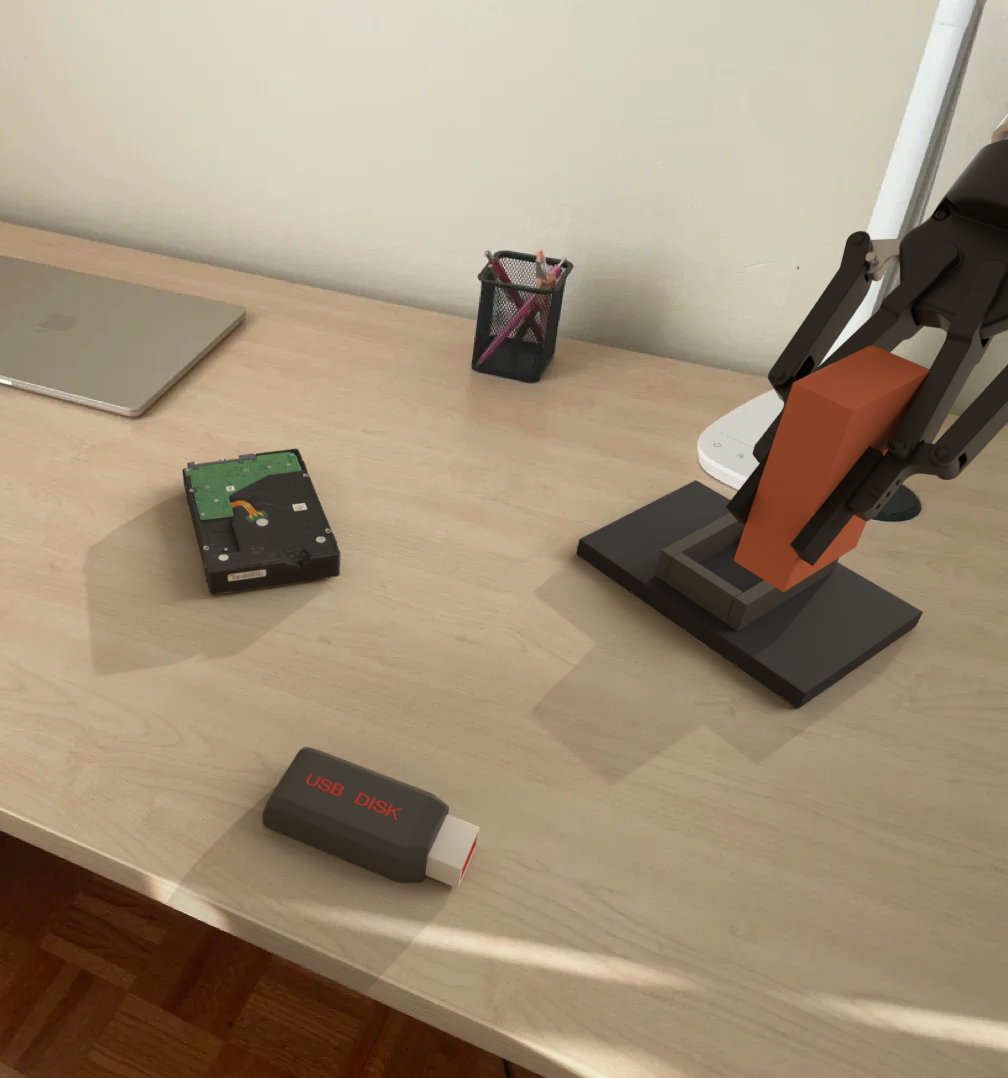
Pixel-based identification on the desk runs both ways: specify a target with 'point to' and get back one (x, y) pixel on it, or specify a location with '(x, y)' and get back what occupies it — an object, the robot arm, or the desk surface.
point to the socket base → (746, 595)
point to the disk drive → (259, 522)
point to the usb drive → (370, 820)
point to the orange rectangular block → (823, 456)
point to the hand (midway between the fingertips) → (769, 535)
